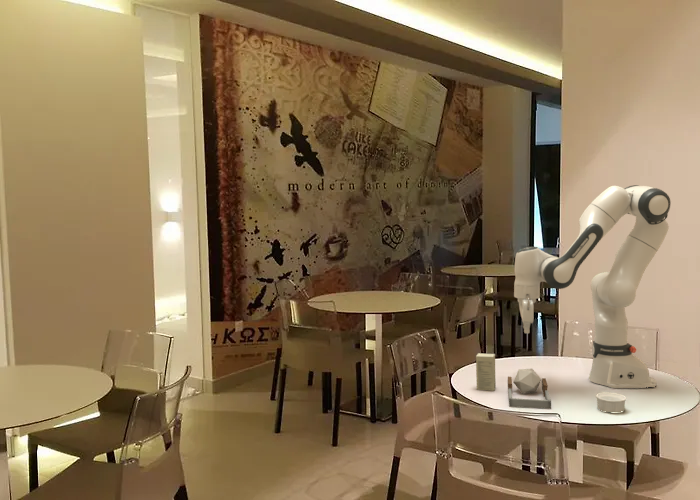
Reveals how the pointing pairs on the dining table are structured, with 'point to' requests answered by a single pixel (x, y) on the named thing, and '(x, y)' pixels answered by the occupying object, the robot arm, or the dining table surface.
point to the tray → (529, 401)
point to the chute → (544, 384)
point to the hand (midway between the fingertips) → (526, 330)
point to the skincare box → (485, 371)
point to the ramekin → (610, 402)
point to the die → (527, 381)
